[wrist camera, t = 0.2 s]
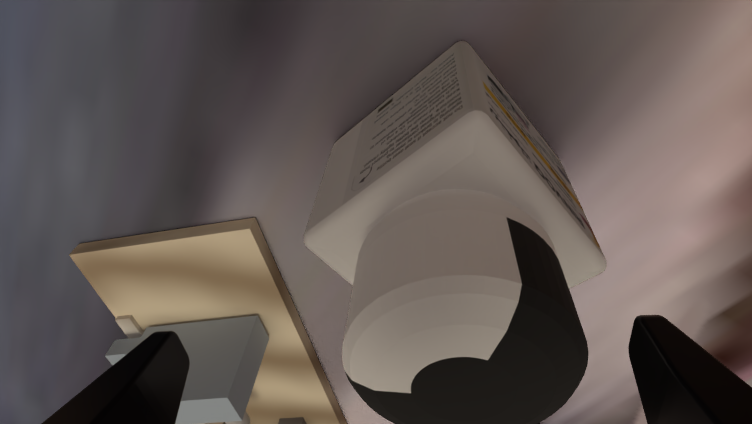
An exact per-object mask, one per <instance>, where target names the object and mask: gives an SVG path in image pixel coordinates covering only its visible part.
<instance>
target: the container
mask: <svg viewBox="0 0 752 424" xmlns="http://www.w3.org/2000/svg"><path fill="white" fill-rule="evenodd" d="M304 244H305V245H306V247H307V248H308V249H310V250H311V251H312V252H313V253H314V254H315V255H317V256H318V257H319V258H320V259H321V260H323V261H324V262H325V263H326V264H327V265H328V266H330V267H331V268H332V269H333V270H334V271H336V272H337V273H338V274H339V275H340V276H342V277H343V278H344V279H345V280H346V281H347V282H349V283H350V284H351V285H352V286H353V287H352V293H351V299H350V305H349V311H348V317H347V323H346V329H345V334H344V340H343V346H342V362H343V366H344V371H345V373H346V375H347V377H348V380H349V382H350V383H351V385H352V386H353V388H354V389H355V390H356V392H357V393H358V394H359V395H360V397H361V398H362V399H363V400H364V401H365V402H366V403H367V405H368V406H369V407H370V408H372V409H373V410H374V411H375V412H377V413H378V414H379V415H381V416H382V417H384V418H386V419H387V420H389V421H391V422H393V423H395V424H537V423H539V422H541V421H543V420H545V419H546V418H548V417H549V416H551V415H552V414H554V413H555V412H556V411H557V410H559V409H560V408H561V407H562V406H563V405H564V404H565V403H566V402H567V400H568V399H569V398H570V397H571V396H572V394H573V393H574V391H575V390H576V388H577V387H578V385H579V383H580V381H581V380H582V378H583V376H584V373H585V370H586V367H587V363H588V347H587V341H586V338H585V335H584V332H583V329H582V326H581V323H580V320H579V317H578V314H577V311H576V308H575V305H574V303H573V300H572V297H571V294H570V291H569V289H570V288H572V287H574V286H576V285H578V284H580V283H582V282H584V281H586V280H588V279H590V278H592V277H594V276H596V275H598V274H600V273H602V272H603V271H604V270H605V268H606V260H605V257H604V255H603V253H602V251H601V248H600V246H599V244H598V242H597V240H596V238H595V235H594V233H593V231H592V229H591V227H590V225H589V222H588V220H587V218H586V216H585V214H584V212H583V209H582V207H581V205H580V203H579V201H578V198H577V196H576V194H575V192H574V190H573V188H572V185H571V183H570V181H569V179H568V177H567V175H566V172H565V170H564V168H563V166H562V164H561V162H560V160H559V158H558V157H557V156H556V155H555V153H554V152H553V151H552V149H551V148H550V147H549V146H548V144H547V143H546V142H545V140H544V139H543V138H542V137H541V135H540V134H539V133H538V131H537V130H536V129H535V128H534V126H533V125H532V124H531V123H530V121H529V120H528V119H527V117H526V116H525V115H524V114H523V112H522V111H521V110H520V108H519V107H518V106H517V105H516V103H515V102H514V101H513V99H512V98H511V97H510V96H509V94H508V93H507V92H506V91H505V89H504V88H503V87H502V85H501V84H500V83H499V82H498V80H497V79H496V78H495V76H494V75H493V74H492V73H491V71H490V70H489V69H488V67H487V66H486V65H485V64H484V62H483V61H482V60H481V58H480V57H479V56H478V55H477V53H476V52H475V51H474V50H473V48H472V47H471V46H470V44H468V43H467V42H465V41H459V42H457V43H455V44H454V45H453V46H451V47H450V48H449V49H448V50H447V51H445V52H444V53H443V54H442V55H441V56H439V57H438V58H437V59H436V60H434V61H433V62H432V63H431V64H430V65H428V66H427V67H426V68H425V69H424V70H422V71H421V72H420V73H419V74H417V75H416V76H415V77H414V78H413V79H411V80H410V81H409V82H408V83H407V84H405V85H404V86H403V87H402V88H400V89H399V90H398V91H397V92H396V93H394V94H393V95H392V96H391V97H390V98H388V99H387V100H386V101H385V102H383V103H382V104H381V105H380V106H379V107H377V108H376V109H375V110H374V111H373V112H371V113H370V114H369V115H368V116H366V117H365V118H364V119H363V120H362V121H360V122H359V123H358V124H357V125H356V126H354V127H353V128H352V129H351V130H349V131H348V132H347V133H346V134H345V135H343V136H342V137H341V138H340V139H339V140H337V141H336V142H335V143H334V145H333V147H332V151H331V154H330V157H329V160H328V163H327V166H326V169H325V172H324V175H323V178H322V181H321V184H320V187H319V190H318V193H317V197H316V200H315V203H314V206H313V209H312V212H311V215H310V218H309V221H308V224H307V227H306V230H305V233H304Z"/></svg>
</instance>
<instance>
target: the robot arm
mask: <svg viewBox="0 0 752 424" xmlns="http://www.w3.org/2000/svg"><path fill="white" fill-rule="evenodd" d="M629 357H630V361H631V365H632V368H633V372H634V376H635V379H636V383H637V387H638V390H639V394H640V398H641V401H642V405H643V409H644V412H645V416H646V420H647V423H648V424H752V387H750V386H749V385H748V384H747V383H745V382H744V381H743V380H742V379H740V378H739V377H738V376H737V375H735V374H734V373H733V372H732V371H731V370H729V369H728V368H727V367H726V366H724V365H723V364H722V363H721V362H719V361H718V360H717V359H716V358H714V357H713V356H712V355H711V354H709V353H708V352H707V351H706V350H704V349H703V348H702V347H701V346H699V345H698V344H697V343H696V342H694V341H693V340H692V339H691V338H689V337H688V336H687V335H686V334H684V333H683V332H682V331H681V330H680V329H678V328H677V327H676V326H675V325H673V324H672V323H671V322H670V321H668V320H667V319H666V318H664V317H663V316H660V315H640V316H637V317H636V318H635V320H634V324H633V329H632V333H631V338H630V342H629ZM189 366H190V360H189V356H188V354H187V352H186V350H185V348H184V346H183V344H182V342H181V340H180V338H179V336H178V335H177V333H175V332H174V331H157V332H154V333H152V334H151V335H150V336H148V337H147V338H146V339H145V340H143V341H142V342H141V343H140V344H139V345H137V346H136V347H135V348H134V349H132V350H131V351H130V352H129V353H128V354H126V355H125V356H124V357H123V358H121V359H120V360H119V361H118V362H116V363H115V364H114V365H113V366H112V367H110V368H109V369H108V370H107V371H105V372H104V373H103V374H102V375H101V376H99V377H98V378H97V379H96V380H94V381H93V382H92V383H91V384H90V385H88V386H87V387H86V388H85V389H83V390H82V391H81V392H80V393H79V394H77V395H76V396H75V397H74V398H72V399H71V400H70V401H69V402H67V403H66V404H65V405H64V406H63V407H61V408H60V409H59V410H58V411H56V412H55V413H54V414H53V415H52V416H50V417H49V418H48V419H47V420H45V421H44V422H43V423H42V424H175V423H176V419H177V415H178V411H179V407H180V403H181V399H182V395H183V391H184V387H185V383H186V379H187V375H188V371H189ZM537 424H540V422H539V423H537Z"/></svg>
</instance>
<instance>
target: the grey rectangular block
mask: <svg viewBox="0 0 752 424" xmlns="http://www.w3.org/2000/svg"><path fill="white" fill-rule="evenodd" d="M157 331H174V332H175V333H177V335H178V336H179V338H180V340H181V342H182V344H183V346H184V348H185V350H186V352H187V354H188V356H189V360H190V366H189V371H188V375H187V379H186V383H185V387H184V391H183V395H182V399H181V403H180V407H179V411H178V415H177V419H176V423H175V424H201V423H217V422H225V423H226V424H250V417H249V415H248V413H247V412H246V408H247V405H248V401H249V398H250V395H251V392H252V389H253V386H254V383H255V380H256V377H257V374H258V371H259V368H260V365H261V362H262V359H263V356H264V353H265V350H266V347H267V344H268V341H269V337H268V335H267V333H266V331H265V329H264V327H263V325H262V323H261V321H260V319H259V317H258V315H257V316H248V317H239V318H229V319H220V320H211V321H201V322H192V323H183V324H174V325H164V326H155V327H147V328H146V329H145V331H144V333H143V334H142V336H141V337H140V338H131V339H121V340H115V341H114V343H113V344H112V346H111V347H110V349H109V350H108V352H107V353H106V355H105V357H106V358H107V359H108V360H109V361H110V363H111V364H112V365H114V364H115V363H116V362H118V361H119V360H120V359H121V358H123V357H124V356H125V355H126V354H128V353H129V352H130V351H131V350H132V349H134V348H135V347H136V346H137V345H139V344H140V343H141V342H142V341H143V340H145V339H146V338H147V337H148V336H150V335H151V334H152V333H154V332H157Z"/></svg>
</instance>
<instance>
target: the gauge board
mask: <svg viewBox="0 0 752 424" xmlns="http://www.w3.org/2000/svg"><path fill="white" fill-rule="evenodd" d="M69 255H70V257H71V258H72V260H73V261H74V262H75V264H76V265H77V266H78V268H79V269H80V270H81V272H82V273H83V274H84V276H85V277H86V278H87V280H88V281H89V283H90V284H91V285H92V287H93V288H94V289H95V291H96V292H97V293H98V295H99V296H100V297H101V299H102V300H103V301H104V303H105V304H106V306H107V307H108V308H109V310H110V311H111V312H112V314H113V315H114V316H115V318H116V319H115V321H116V322H117V323H118V325H119V326H120V327H121V329H122V330H123V331H124V333H125V334H126V335H127V337H128V338H129V339H131V338H140V337H141V336H142V334H143V333H144V331H145V329H146V328H147V327H155V326H164V325H174V324H183V323H192V322H201V321H211V320H220V319H229V318H239V317H248V316H257V315H258V317H259V319H260V321H261V323H262V325H263V327H264V329H265V331H266V333H267V335H268V337H269V341H268V344H267V347H266V350H265V353H264V356H263V359H262V362H261V365H260V368H259V371H258V374H257V377H256V380H255V383H254V386H253V389H252V392H251V395H250V398H249V401H248V405H247V408H246V412H247V413H248V415H249V417H250V424H347V422H346V420H345V418H344V416H343V413H342V411H341V409H340V407H339V404H338V402H337V400H336V398H335V395H334V393H333V391H332V389H331V386H330V384H329V382H328V380H327V378H326V375H325V373H324V371H323V369H322V366H321V364H320V362H319V360H318V357H317V355H316V353H315V351H314V348H313V346H312V344H311V342H310V339H309V337H308V335H307V333H306V330H305V328H304V326H303V324H302V321H301V319H300V317H299V315H298V313H297V310H296V308H295V306H294V304H293V301H292V299H291V297H290V295H289V292H288V290H287V288H286V286H285V283H284V281H283V279H282V277H281V274H280V272H279V270H278V268H277V265H276V263H275V261H274V259H273V256H272V254H271V252H270V250H269V248H268V245H267V243H266V241H265V239H264V236H263V234H262V232H261V230H260V227H259V225H258V223H257V221H256V218H248V219H242V220H235V221H228V222H221V223H215V224H208V225H201V226H195V227H188V228H181V229H175V230H168V231H161V232H155V233H148V234H141V235H134V236H128V237H121V238H114V239H108V240H101V241H94V242H88V243H81V244H79V245H78V246H77V247H76V248H75V249H74V250H73V251H72V252H71V253H70V254H69ZM201 424H226V423H225V422H217V423H201Z"/></svg>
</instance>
